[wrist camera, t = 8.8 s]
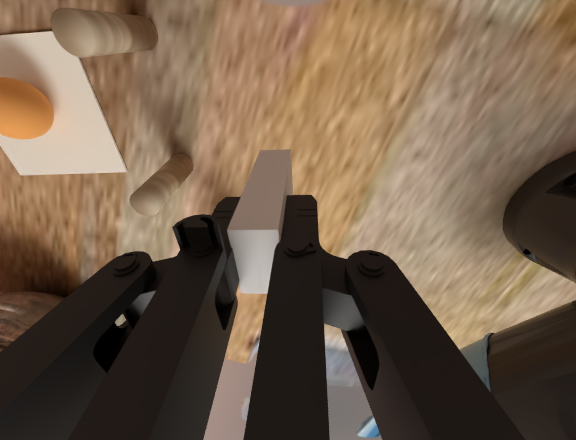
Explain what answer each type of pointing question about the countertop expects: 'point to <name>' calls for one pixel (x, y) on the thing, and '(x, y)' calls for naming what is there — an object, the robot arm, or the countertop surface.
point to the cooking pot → (23, 312)
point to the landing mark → (58, 110)
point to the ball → (23, 110)
